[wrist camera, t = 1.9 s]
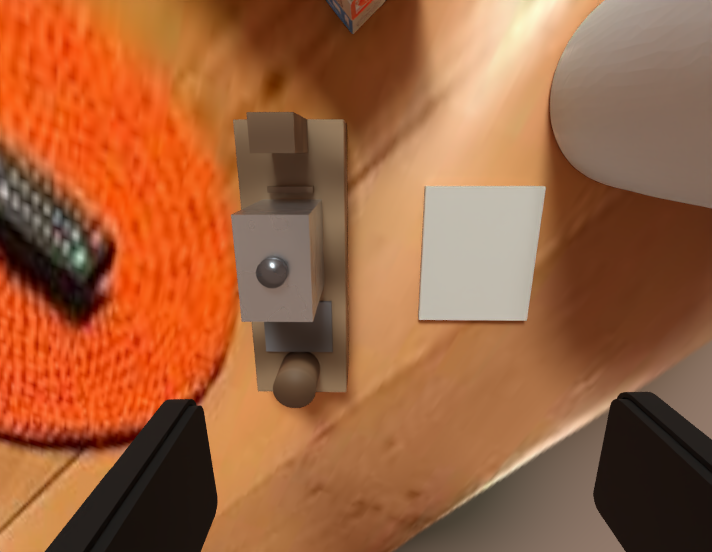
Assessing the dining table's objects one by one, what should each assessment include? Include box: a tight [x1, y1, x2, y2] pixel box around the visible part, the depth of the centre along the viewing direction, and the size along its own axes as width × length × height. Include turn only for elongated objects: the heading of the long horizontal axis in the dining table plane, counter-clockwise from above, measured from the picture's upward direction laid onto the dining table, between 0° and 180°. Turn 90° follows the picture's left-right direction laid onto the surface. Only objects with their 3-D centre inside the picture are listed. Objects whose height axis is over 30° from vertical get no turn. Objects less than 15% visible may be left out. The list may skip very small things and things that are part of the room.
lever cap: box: [231, 199, 324, 322], centre depth 24 cm, size 6×4×7 cm, turn 0°
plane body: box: [233, 112, 349, 408], centre depth 28 cm, size 20×7×10 cm, turn 0°
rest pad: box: [418, 186, 546, 321], centre depth 31 cm, size 11×9×1 cm
